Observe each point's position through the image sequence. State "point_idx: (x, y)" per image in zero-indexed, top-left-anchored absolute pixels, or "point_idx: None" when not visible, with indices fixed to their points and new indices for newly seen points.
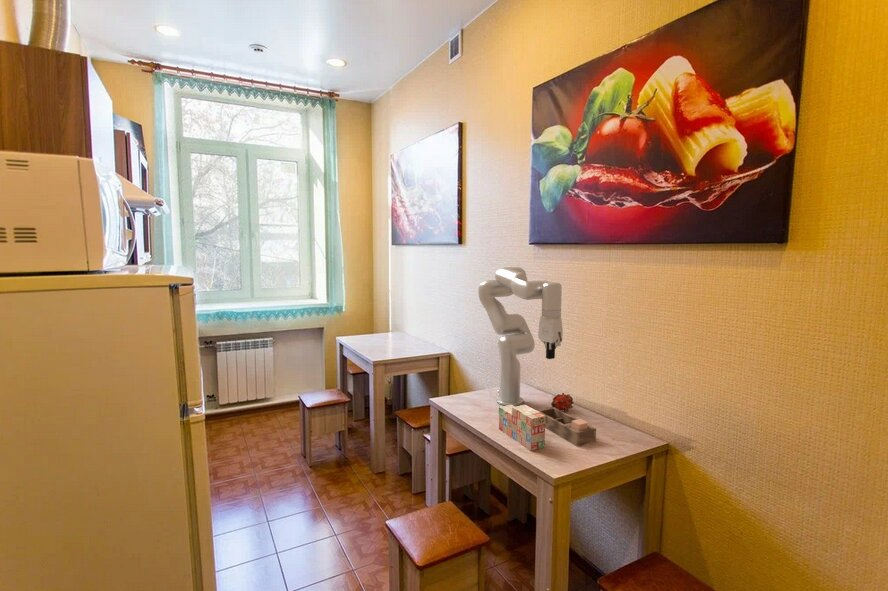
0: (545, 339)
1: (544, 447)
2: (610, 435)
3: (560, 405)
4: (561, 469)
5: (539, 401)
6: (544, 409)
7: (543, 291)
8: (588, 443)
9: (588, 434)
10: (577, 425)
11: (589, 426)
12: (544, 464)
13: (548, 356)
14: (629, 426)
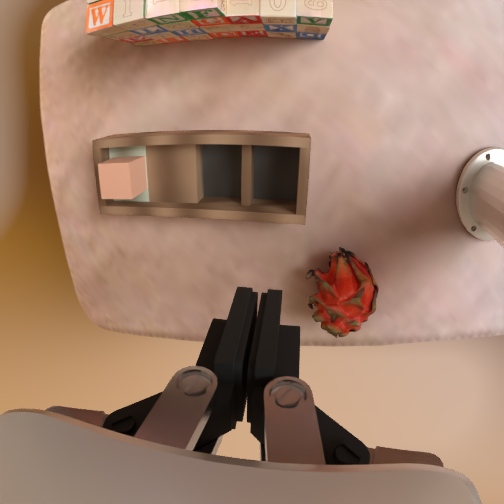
0: (189, 491)
1: (141, 45)
2: (138, 262)
3: (328, 273)
4: (53, 37)
5: (437, 276)
6: (306, 177)
7: None
8: None
9: None
10: (106, 162)
11: (117, 208)
12: (81, 9)
13: (233, 302)
14: (168, 336)
